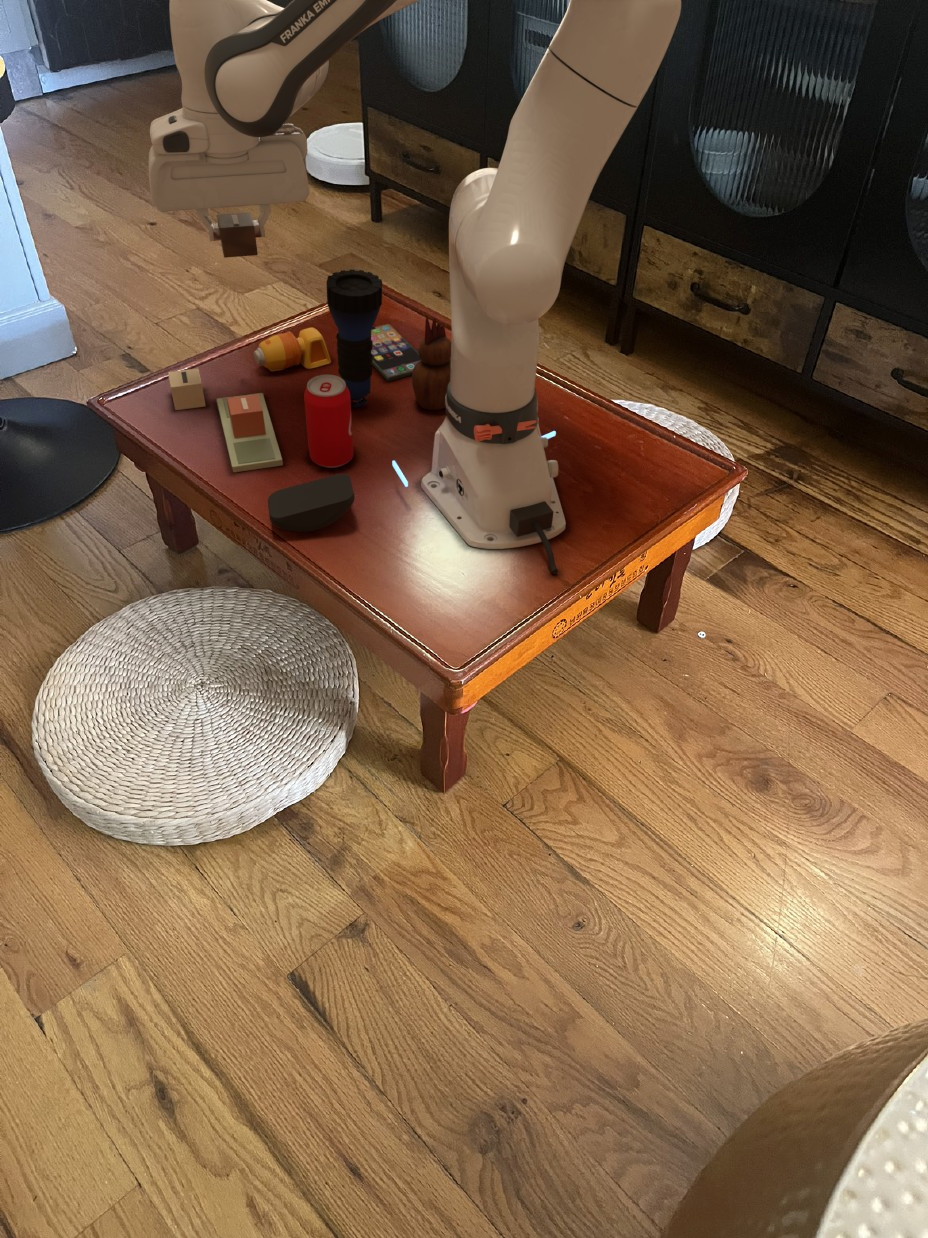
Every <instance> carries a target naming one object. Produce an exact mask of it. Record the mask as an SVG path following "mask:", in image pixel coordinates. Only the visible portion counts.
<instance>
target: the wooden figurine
mask: <svg viewBox="0 0 928 1238" xmlns="http://www.w3.org/2000/svg"><path fill="white" fill-rule="evenodd" d="M424 326H425V327H424V337H423V338H422V339H421V340H420V342H419V346H418V350H419V355H420V358H421V360H420V361H419V362H418V363H417V364H416V365H415V366H414V369H413V372H412V375H411V385H412V389H413V392H414V396H415V399H416V402H417V403H418V405H419V406H420V407H421V408H423V409H424V410H428V411H439V410H443V409H446V404H445V397H446V393H447V386H448V384H449V382H450V371H451V340H450V339H449V338H448V337H447V335H446V329H445V325H443V324H441V322H439V321H438V322H437V319H436V317H433V318H432V323H431V325H430V320H429V318H428V317H426V318H425V325H424Z"/></svg>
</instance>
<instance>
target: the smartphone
mask: <svg viewBox="0 0 928 1238" xmlns="http://www.w3.org/2000/svg"><path fill="white" fill-rule="evenodd" d="M371 341H373V348H372V350H371V354H373V357H372V363H371V365H372V367H374V368H375V369H376V371H377V372H378V373H379V374H380V375H381V376H382V377H383V379H385V380H386V382H391V381H395V380H399V379H403V378H407V377H409V376H410V377H411V376H412V372H413V369H414V366H415V365H416V364H417V363H418V362H419V361H420V360H421V358H420V355H419V353H418V352H417V351H416V350H417V349H415V348H414V347H413V346H412V345H411V344H410V343H409V342H408V341H407V340H406V339H405V338H404V336H403V335H401V334H400V333H399V331H397V329H395V328H394V327H393V326H392V325H391V324H390V323H386V324H382V325H377V326H373V327H372V329H371Z"/></svg>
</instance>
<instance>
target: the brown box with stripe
mask: <svg viewBox="0 0 928 1238" xmlns="http://www.w3.org/2000/svg"><path fill="white" fill-rule="evenodd" d="M216 219H217V223H218V224H219V229H220V236H221V240H220V246H221V252H222V255H223V258H224V259H227V258H238V257H239V258H241V257H252V256H258V255H259V253H258V244H257V238H256V236H255V228H254V223H253V217H252V213H251V212H238V213H237V212H236V213H224V214H221V213H220V214H217V215H216Z"/></svg>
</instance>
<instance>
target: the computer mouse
mask: <svg viewBox="0 0 928 1238" xmlns="http://www.w3.org/2000/svg"><path fill="white" fill-rule="evenodd" d="M354 502H355V492H354V487H353V483H352V479H351V476H350V475H349V474H348V473H339V474H333V475H330V476H326V477H322V478H318V479H315V480H311V481H308V482H303V483H299V484H296V485H293V486H289V487H285V488H281V489H278V490H275V491H274V492H272V493H271V494H269V496H268V498H267V507H268V515H269V516H268V517H269V521H270V523H271V524H272V525H273V526H274V527H276V528H278V529H281V530H284V531H288V532H293V533H307V532H313V531H317V530H318V531H319V530H322V529H324V528H326V527H329V526H330V525H332V524H334V523H335V522H337V521H338V520H339V519H341V518H342V517H343V516H344V515H346V513H347V512H348V511H349V509H351V507H352V506H353V504H354Z"/></svg>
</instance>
